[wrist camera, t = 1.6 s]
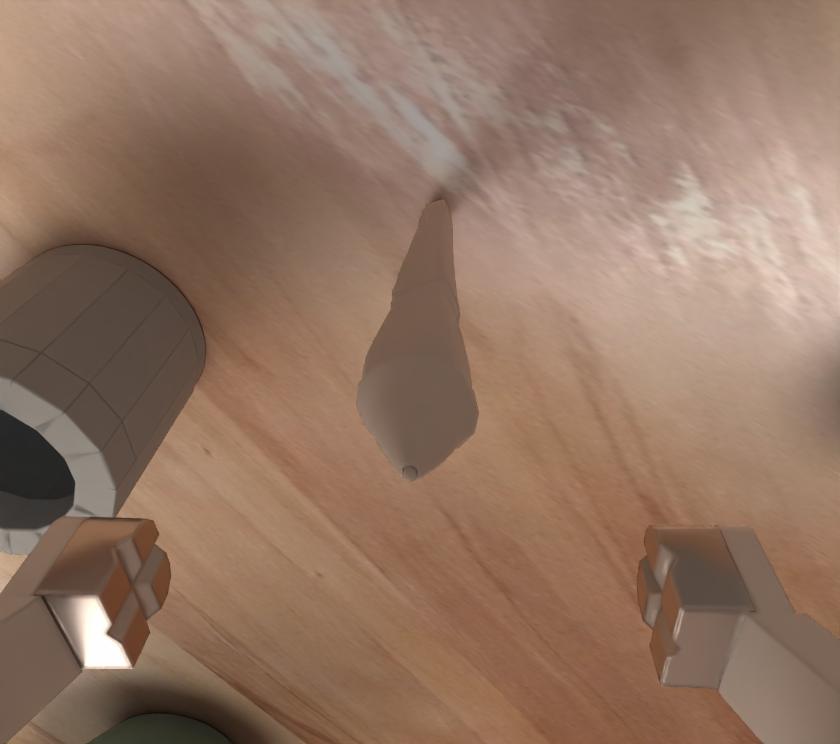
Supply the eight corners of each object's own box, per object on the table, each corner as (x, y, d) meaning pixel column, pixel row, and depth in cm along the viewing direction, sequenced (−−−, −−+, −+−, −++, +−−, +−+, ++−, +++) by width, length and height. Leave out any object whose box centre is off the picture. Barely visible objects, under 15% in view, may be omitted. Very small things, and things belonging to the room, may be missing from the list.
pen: (460, 164, 22) (447, 406, 11) (485, 233, 24) (498, 514, 12) (393, 189, 23) (315, 443, 11) (421, 255, 24) (376, 542, 13)
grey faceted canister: (-18, 245, 25) (-206, 362, 18) (179, 241, 25) (63, 362, 18) (55, 408, 30) (-75, 553, 23) (223, 409, 29) (144, 558, 22)
